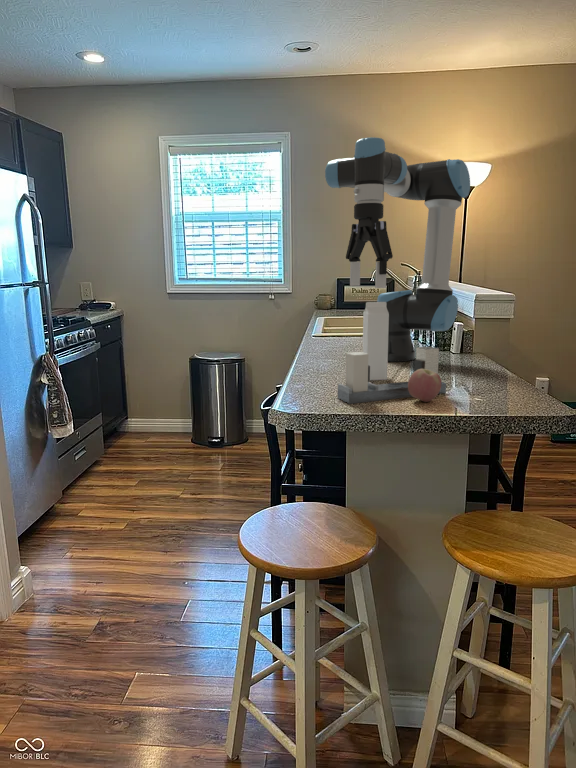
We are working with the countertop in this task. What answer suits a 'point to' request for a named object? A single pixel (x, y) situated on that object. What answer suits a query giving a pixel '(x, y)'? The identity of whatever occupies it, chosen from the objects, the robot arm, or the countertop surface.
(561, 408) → the countertop surface
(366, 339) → the milk
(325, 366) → the countertop surface
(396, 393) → the rail
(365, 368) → the short white pillar
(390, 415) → the countertop surface
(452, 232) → the robot arm
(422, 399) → the apple
